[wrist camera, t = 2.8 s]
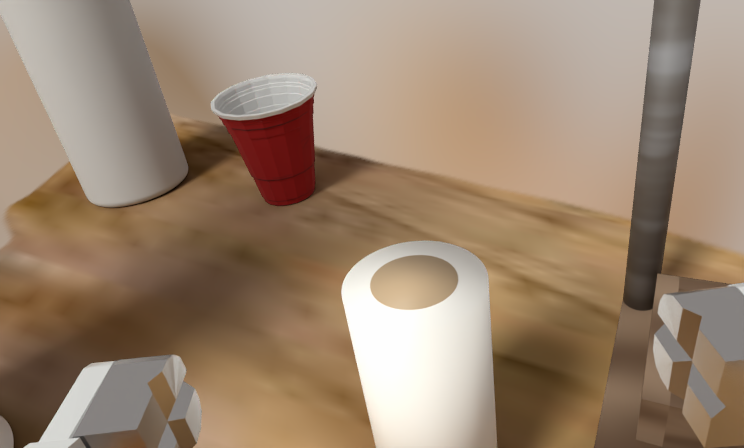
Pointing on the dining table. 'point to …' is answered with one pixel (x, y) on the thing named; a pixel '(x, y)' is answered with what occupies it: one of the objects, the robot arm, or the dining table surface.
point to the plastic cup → (273, 133)
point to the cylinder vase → (99, 95)
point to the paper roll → (423, 345)
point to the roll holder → (652, 250)
